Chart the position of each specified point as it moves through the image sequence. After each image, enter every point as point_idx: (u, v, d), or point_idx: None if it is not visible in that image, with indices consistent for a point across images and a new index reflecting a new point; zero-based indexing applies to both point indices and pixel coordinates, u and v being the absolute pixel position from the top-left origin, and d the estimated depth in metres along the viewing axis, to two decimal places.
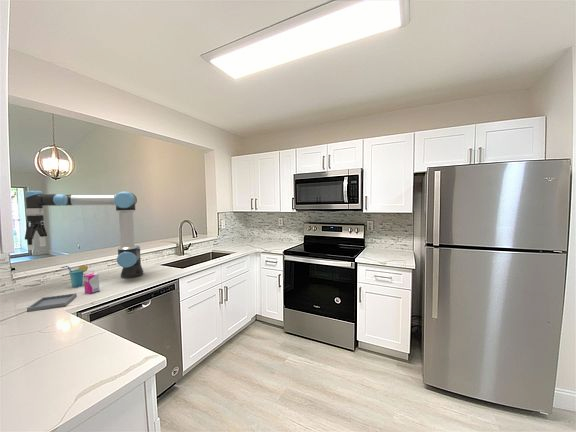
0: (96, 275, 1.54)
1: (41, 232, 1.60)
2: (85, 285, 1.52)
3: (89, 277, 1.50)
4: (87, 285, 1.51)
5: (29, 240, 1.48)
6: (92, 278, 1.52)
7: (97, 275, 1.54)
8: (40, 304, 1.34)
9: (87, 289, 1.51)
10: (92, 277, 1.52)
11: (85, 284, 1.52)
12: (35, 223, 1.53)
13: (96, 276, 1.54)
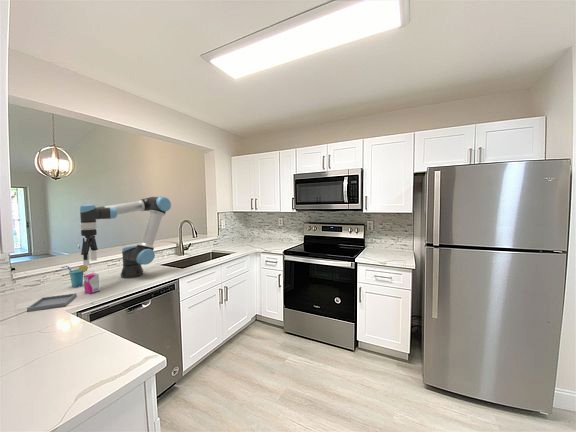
0: (96, 275, 1.54)
1: (93, 246, 1.57)
2: (85, 285, 1.52)
3: (89, 277, 1.50)
4: (87, 285, 1.51)
5: (85, 255, 1.45)
6: (92, 278, 1.52)
7: (97, 275, 1.54)
8: (40, 304, 1.34)
9: (87, 289, 1.51)
10: (92, 277, 1.52)
11: (85, 284, 1.52)
12: (89, 237, 1.50)
13: (96, 276, 1.54)
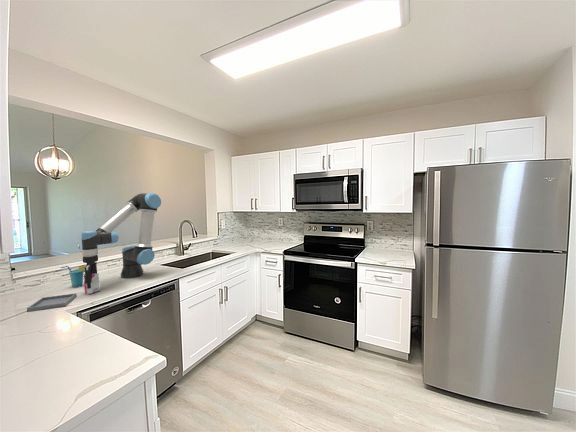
0: (96, 275, 1.54)
1: None
2: (85, 285, 1.52)
3: None
4: None
5: (88, 284, 1.49)
6: (92, 278, 1.52)
7: (97, 275, 1.54)
8: (40, 304, 1.34)
9: None
10: (92, 277, 1.52)
11: (85, 284, 1.52)
12: (91, 264, 1.51)
13: (96, 276, 1.54)
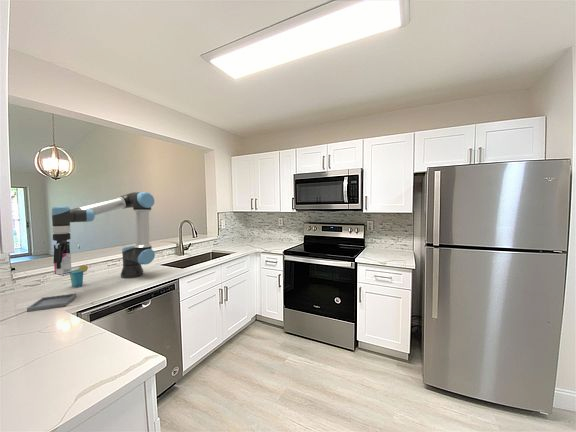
0: (68, 255, 1.40)
1: None
2: (55, 265, 1.38)
3: None
4: None
5: (58, 264, 1.35)
6: (63, 258, 1.38)
7: (69, 255, 1.41)
8: (40, 304, 1.34)
9: None
10: (63, 257, 1.38)
11: (55, 265, 1.38)
12: (62, 242, 1.37)
13: (68, 256, 1.40)
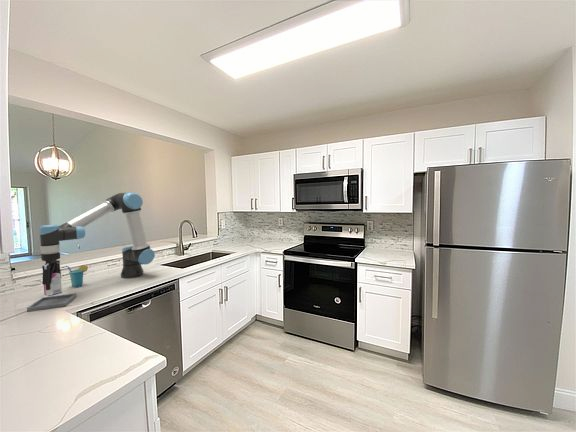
0: (57, 275, 1.36)
1: None
2: (44, 286, 1.34)
3: None
4: None
5: (47, 285, 1.31)
6: (52, 278, 1.34)
7: (59, 275, 1.37)
8: (40, 304, 1.34)
9: None
10: (52, 277, 1.34)
11: (44, 285, 1.34)
12: (51, 262, 1.33)
13: (57, 276, 1.36)
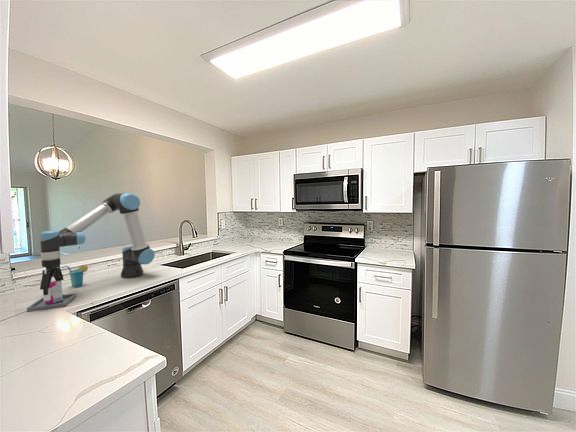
0: (58, 283, 1.37)
1: (57, 276, 1.41)
2: None
3: (49, 286, 1.33)
4: None
5: (45, 290, 1.29)
6: (53, 287, 1.35)
7: (59, 283, 1.37)
8: (40, 304, 1.34)
9: None
10: (53, 286, 1.35)
11: None
12: (51, 269, 1.33)
13: (58, 284, 1.37)
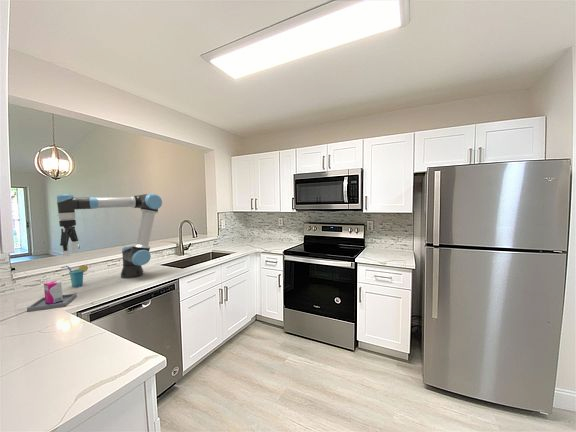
0: (58, 283, 1.37)
1: (73, 237, 1.54)
2: (45, 295, 1.35)
3: (49, 286, 1.33)
4: (47, 295, 1.34)
5: (64, 246, 1.42)
6: (53, 287, 1.35)
7: (59, 283, 1.37)
8: (40, 304, 1.34)
9: (48, 299, 1.34)
10: (53, 286, 1.35)
11: (45, 294, 1.35)
12: (68, 228, 1.46)
13: (58, 284, 1.37)
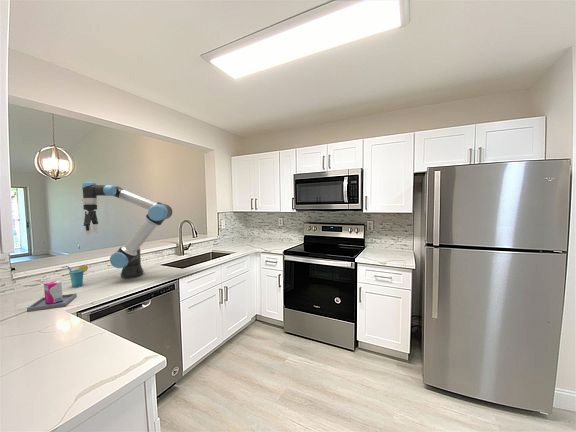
0: (58, 283, 1.37)
1: (94, 220, 1.76)
2: (45, 295, 1.35)
3: (49, 286, 1.33)
4: (47, 295, 1.34)
5: (87, 226, 1.63)
6: (53, 287, 1.35)
7: (59, 283, 1.37)
8: (40, 304, 1.34)
9: (48, 299, 1.34)
10: (53, 286, 1.35)
11: (45, 294, 1.35)
12: (91, 211, 1.68)
13: (58, 284, 1.37)
